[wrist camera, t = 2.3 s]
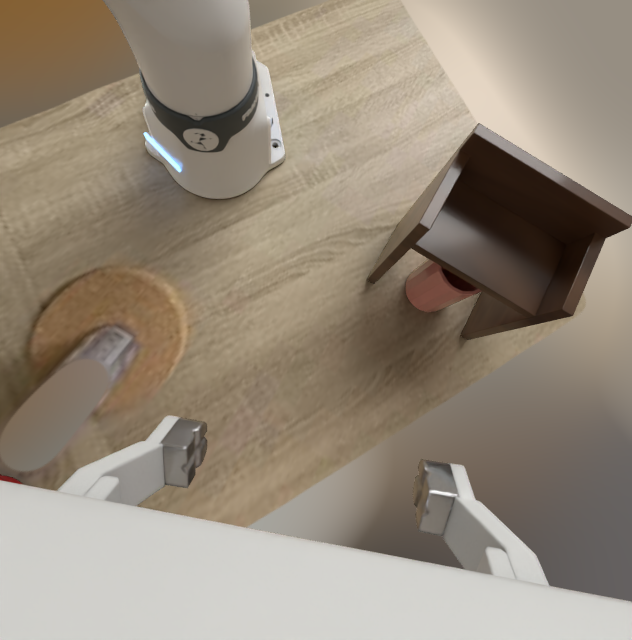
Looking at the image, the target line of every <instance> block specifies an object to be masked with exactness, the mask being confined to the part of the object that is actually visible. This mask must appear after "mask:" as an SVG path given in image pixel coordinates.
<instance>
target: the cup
mask: <svg viewBox="0 0 632 640" xmlns="http://www.w3.org/2000/svg"><path fill="white" fill-rule="evenodd" d="M479 292H481V290H480V289H478V288H476V287H475V286H473V285H471V284H470V283H468V282H466V281H465V280H463V279H461V278H460V277H458V276H456V275H455V274H453V273H451V272H450V271H448V270H446V269H445V268H443V267H441V266H440V265H438V264H436V263H435V262H433V261H431V260H430V259H427V260H426V261H425V262H423V263H422V264H421V265H420V266H418V267H417V268H416V269H415V270H414V271H413V272H412V273H411V274H410V275H409V277H408V278H407V281H406V294H407V297H408V299H409V301H410V302H411V303H412V304H413V305H414V306H415V307H416V308H418V309H419V310H422V311H425V312H435V311H438V310H440V309H443V308H445V307H447V306H450V305H452V304H454V303H457V302H459V301H461V300H463V299H466V298H468V297H470V296H472V295H475V294H477V293H479Z"/></svg>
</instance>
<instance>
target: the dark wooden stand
mask: <svg viewBox="0 0 632 640" xmlns="http://www.w3.org/2000/svg"><path fill="white" fill-rule="evenodd" d="M631 224H632V216H631V215H629V214H627V213H626V212H624V211H622V210H621V209H619V208H618V207H616V206H614V205H613V204H611V203H609V202H608V201H606V200H604V199H603V198H601V197H599V196H598V195H596V194H594V193H593V192H591V191H590V190H588V189H586V188H585V187H583V186H581V185H580V184H578V183H577V182H575V181H573V180H572V179H570V178H568V177H567V176H565V175H563V174H562V173H560V172H558V171H556V170H555V169H553V168H552V167H550V166H549V165H547V164H545V163H544V162H542V161H540V160H539V159H537V158H535V157H534V156H532V155H531V154H529V153H527V152H526V151H524V150H522V149H521V148H519V147H517V146H516V145H514V144H513V143H511V142H509V141H508V140H506V139H504V138H503V137H501V136H499V135H498V134H496V133H494V132H493V131H491V130H490V129H488V128H486V127H485V126H483V125H481V124H480V123H478V124H477V126H476V127H475V128H474V129H473V131H472V132H471V133H470V134H469V136H468V137H467V138H466V139H465V141H464V142H463V143H462V144H461V146H460V147H459V148H458V150H457V151H456V152H455V153H454V155H453V156H452V157H451V158H450V160H449V161H448V162H447V163H446V165H445V166H444V167H443V168H442V170H441V171H440V172H439V173H438V175H437V176H436V177H435V178H434V180H433V181H432V182H431V183H430V185H429V186H428V187H427V188H426V190H425V191H424V192H423V193H422V195H421V196H420V197H419V198H418V200H417V201H416V202H415V203H414V205H413V206H412V207H411V208H410V210H409V211H408V212H407V213H406V215H405V216H404V217H403V218H402V220H401V221H400V222H399V224H398V225H397V227H396V229H395V231H394V232H393V234H392V236H391V238H390V239H389V241H388V243H387V245H386V246H385V248H384V250H383V252H382V253H381V255H380V257H379V259H378V260H377V262H376V264H375V266H374V268H373V269H372V271H371V273H370V275H369V276H368V278H367V280H368V281H370V282H371V283H373V284H374V283H375V282H376V281H378V280H379V279H380V278H381V277H382V276H383V275H384V274H385V273H386V272H387V271H388V270H389V269H390V268H391V267H392V266H393V265H394V264H395V263H396V262H397V261H398V260H399V259H400V258H401V257H402V256H403V255H404V254H405V253H406V252H407V251H408V250H410V249H411V248H412V249H413V250H415V251H416V252H418V253H420V254H421V255H423V256H425V257H426V258H428V259H430V260H431V261H433V262H435V263H436V264H438V265H440V266H441V267H443V268H445V269H446V270H448V271H450V272H451V273H453V274H455V275H456V276H458V277H460V278H461V279H463V280H465V281H466V282H468V283H470V284H471V285H473V286H475V287H476V288H478V289H480V290H481V291H482V292H481V294H480V296H479V298H478V300H477V302H476V305H475V307H474V309H473V311H472V313H471V315H470V317H469V319H468V321H467V323H466V325H465V327H464V329H463V331H462V333H461V335H460V336H462V337H463V338H465V339H467V340H469V339H474V338H478V337H482V336H487V335H491V334H496V333H500V332H504V331H509V330H513V329H518V328H522V327H526V326H531V325H535V324H540V323H544V322H548V321H553V320H557V319H561V318H566V317H570V316H573V315H574V312H575V310H576V307H577V305H578V303H579V300H580V298H581V296H582V293H583V291H584V288H585V286H586V284H587V281H588V279H589V277H590V274H591V272H592V269H593V267H594V265H595V262H596V260H597V258H598V255H599V253H600V251H601V248H602V246H603V244H604V241H605V239H606V238H607V237H610V236H612V235H614V234H617V233H619V232H621V231H623V230H626V229H628V228H630V226H631Z"/></svg>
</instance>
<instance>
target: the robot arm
mask: <svg viewBox="0 0 632 640" xmlns="http://www.w3.org/2000/svg"><path fill="white" fill-rule="evenodd" d="M103 1H104V2H105V4H106V5H107V7H108V8H109V9H110V10H111V12H112V14H113V15H114V17H115V19H116V20H117V22H118V23H119V25H120V27H121V30H122V32H123V33H124V35H125V37H126V39H127V41H128V43H129V45H130V48H131V50H132V52H133V54H134V56H135V58H136V61H137V63H138V65H139V71H140V78H141V82H142V87H143V90H144V94H145V96H146V104H145V106H144V107H143V115H144V118H145V121H146V124H147V126H148V129H149V131H148V134H147V133H146V132H145V133H144V135H145V137H146V140H145V146H146V149H147V151H148V153H149V154H150V155H151V156H153V157H154V158H156V159H157V160H159V161H160V162H162V163H163V164H164V165H165V167H166V168H167V170H168V171H169V173H170V174H171V176H172V177H173V178H174V180H175V181H176V182H177V183H178V184H179V185H181V186H182V187H183V188H184V189H186V190H188V191H189V192H191V193H193V194H195V195H198V196H201V197H205V198H211V199H226V198H231V197H235V196H238V195H241V194H243V193H245V192H247V191H248V190H250V189H251V188H253V187H254V186H255V185H256V184H257V183H258V182H259V181H260V180H261V178H262V177H263V176H264V175H265V173H266V172H267V171H268V170H270V169H272V168H274V167H276V166H278V165H279V164H281V163H282V162H283V161H284V160H285V149H284V144H283V139H282V134H281V129H280V124H279V119H278V114H277V109H276V104H275V99H274V94H273V89H272V84H271V79H270V74H269V70H268V68H267V67H266V66H265V65H263V64H262V63H260V62H259V61H257V60H256V56H255V53H254V51H253V50H252V45H251V27H250V8H249V2H248V0H103ZM273 146H277V148H273ZM206 432H207V424H206V422H202V421H197V420H192V419H187V418H182V417H181V418H180V417H176V416H171V415H168V416H166V417H165V418H164V419H163V420H162V422H161V423H160V424H159V425H158V426H157V428H156V429H155V430H154V431H153V432H152V434H151V435H150V436H149V437H148V438H147V440H146V441H145V442H144V441H140V442H138V443H136V444H133V445H131V446H129V447H127V448H124V449H122V450H120V451H118V452H115V453H113V454H111V455H109V456H106V457H104V458H102V459H99V460H97V461H95V462H93V463H90V464H88V465H86V466H84V467H81V468H79V469H78V470H77V471H76V472H75V473H74V474H73V475H72V476H71V477H70V478H69V479H68V480H67V481H66V482H65V483H64V484H63V485H62V486H61V487H60V488H59V489H58V490H57V491H53V490H48V489H43V488H38V487H33V486H28V485H22V484H17V483H12V482H7V481H2V480H0V640H632V602H631V601H625V600H620V599H615V598H609V597H605V596H599V595H594V594H589V593H584V592H578V591H573V590H568V589H562V588H558V587H552V586H549V584H548V582H547V580H546V577H545V575H544V572H543V570H542V568H541V566H540V563H539V561H538V559H537V557H536V555H535V554H534V553H533V552H532V551H531V550H530V549H529V548H528V547H527V546H526V545H525V544H524V543H523V542H522V541H521V540H520V539H519V538H518V537H517V536H516V535H515V534H514V533H512V532H511V531H510V530H509V529H508V528H507V527H506V526H505V525H504V524H503V523H502V522H501V521H500V520H499V519H498V518H497V517H496V516H495V515H494V514H493V513H492V512H491V511H489V510H488V509H487V508H486V507H485V506H484V505H483V504H482V503H481V502H480V501H476V500H475V497H474V494H473V491H472V488H471V485H470V482H469V479H468V476H467V473H466V470H465V467H464V466H463V465H457V464H450V463H449V464H447V463H442V462H436V461H430V460H423V459H421V460H420V462H419V466H418V471H419V475H417V476H416V477H415V482H414V487H413V500H414V505H415V506H416V507H417V511H416V522H417V528H418V531H420V532H424V533H429V534H434V535H439V536H443V537H442V538H443V539H444V541H445V542H446V543H447V545H448V546H449V548H450V549H451V551H452V552H453V553H454V555H455V556H456V558H457V559H458V561H459V562H460V563H461V564H462V566H463V568H464V569H465V570H464V569H459V568H454V567H448V566H443V565H438V564H433V563H427V562H422V561H416V560H411V559H406V558H401V557H396V556H391V555H386V554H380V553H375V552H369V551H365V550H360V549H355V548H350V547H344V546H339V545H334V544H329V543H323V542H318V541H313V540H308V539H302V538H298V537H292V536H287V535H282V534H276V533H271V532H266V531H261V530H256V529H250V528H245V527H240V526H235V525H230V524H224V523H219V522H214V521H209V520H204V519H199V518H193V517H188V516H183V515H178V514H173V513H167V512H162V511H157V510H152V509H147V508H142V507H136V506H137V505H138V504H140V503H141V502H142V501H144V500H145V499H147V498H148V497H150V496H151V495H153V494H154V493H155V492H157V491H158V490H160V489H161V488H163V487H164V486H165V485H171V486H177V487H183V488H188V486H189V485H190V483H191V481H192V480H193V478H194V476H195V468H197V467H199V466H201V464H202V462H203V460H204V457H205V454H206V450H207V440H206V438H205V437H204V435H205V434H206Z"/></svg>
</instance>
